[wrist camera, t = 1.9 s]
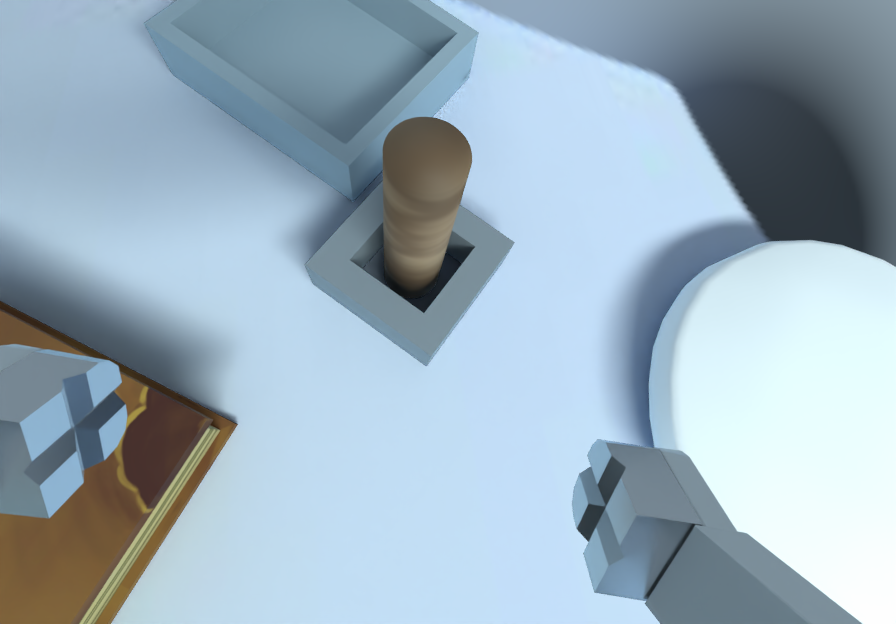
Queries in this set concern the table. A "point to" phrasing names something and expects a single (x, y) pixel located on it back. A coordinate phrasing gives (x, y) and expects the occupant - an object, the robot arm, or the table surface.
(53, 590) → the diary
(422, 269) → the dowel
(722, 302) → the plate
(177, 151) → the table surface
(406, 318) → the socket block
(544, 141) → the table surface
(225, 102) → the tray
